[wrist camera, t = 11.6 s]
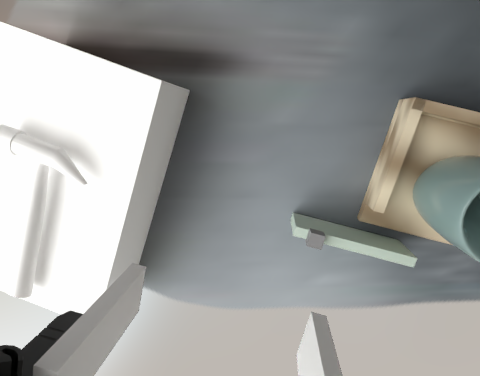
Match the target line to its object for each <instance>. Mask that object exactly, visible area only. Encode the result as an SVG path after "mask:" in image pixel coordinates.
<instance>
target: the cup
mask: <svg viewBox="0 0 480 376" xmlns="http://www.w3.org/2000/svg"><path fill="white" fill-rule="evenodd" d="M412 198H413V202H414V205H415V208H416V210H417V212H418V213H419V214H420V216H421V217H422V219H423V220H424V221H425V222H426V223H427V224H428V225H429V226H430V227H431V228H432V229H433V230H434V231H435V232H437V233H438V234H439V235H440V236H441V237H443V238H444V239H445V240H447V241H448V242H449V243H451V244H452V245H454V246H455V247H456V248H458V249H459V250H461V251H462V252H464V253H465V254H466V255H468V256H470V257H471V258H473V259H474V260H476V261H477V262H479V263H480V156H476V155H463V156H453V157H449V158H445V159H442V160H440V161H438V162H435V163H433V164H432V165H430V166H429V167H428V168H426V169H425V170H424V171H423V172H422V173H421V174H420V176H419V177H418V178H417V180H416V182H415V183H414V186H413V190H412Z"/></svg>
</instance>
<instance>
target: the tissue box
mask: <svg viewBox="0 0 480 376" xmlns="http://www.w3.org/2000/svg"><path fill="white" fill-rule="evenodd" d="M189 92H190V90H188V89H185V88H182V87H179V86H177V85H174V84H171V83H168V82H166V81H163V80H160V79H158V78H155V77H152V76H149V75H147V74H144V73H141V72H138V71H136V70H133V69H130V68H127V67H125V66H122V65H119V64H117V63H114V62H111V61H108V60H106V59H103V58H100V57H97V56H95V55H92V54H89V53H86V52H84V51H81V50H78V49H75V48H73V47H70V46H67V45H65V44H62V43H59V42H56V41H53V40H50V39H48V38H45V37H42V36H39V35H36V34H34V33H31V32H28V31H25V30H22V29H19V28H17V27H14V26H11V25H8V24H5V23H3V22H0V291H3V292H5V293H8V294H9V295H11V296H13V297H16V298H21V299H23V300H26V301H28V302H31V303H34V304H36V305H39V306H41V307H44V308H47V309H49V310H52V311H54V312H57V313H60V314H64V313H66V312H68V311H70V310H71V311H74V312H78V313H81V314H84V313H85V312H86V311H87V309H88V308H89V307H90V306H91V305H92V304H93V303H94V302H95V301H96V300H97V299H98V298H99V297H100V296H101V295H102V294H103V293H104V292H105V291H106V290H107V289H108V288H109V287H110V286H111V285H112V284H113V283H114V282H115V280H116V279H117V278H118V277H119V276H120V275H121V274H122V273H123V272H124V271H125V270H126V269H127V268H128V267H129V266H130V265H131V264H132V263H134V264H138V265H139V263H140V259H141V256H142V252H143V249H144V245H145V242H146V239H147V235H148V232H149V228H150V225H151V221H152V218H153V215H154V211H155V208H156V204H157V201H158V198H159V194H160V191H161V187H162V184H163V180H164V177H165V174H166V170H167V167H168V163H169V160H170V157H171V153H172V150H173V146H174V143H175V139H176V136H177V133H178V129H179V126H180V122H181V119H182V116H183V112H184V109H185V105H186V102H187V98H188V95H189Z"/></svg>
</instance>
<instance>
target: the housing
mask: <svg viewBox="0 0 480 376" xmlns="http://www.w3.org/2000/svg"><path fill="white" fill-rule="evenodd" d="M463 155H476V156H480V112H475V111H471V110H467V109H463V108H459V107H454V106H450V105H446V104H442V103H437V102H433V101H429V100H425V99H421V98H416V97H414V98H408V99H401V100H399V102H398V105H397V108H396V110H395V113H394V116H393V119H392V122H391V124H390V127H389V130H388V133H387V136H386V138H385V141H384V144H383V147H382V150H381V152H380V155H379V158H378V161H377V163H376V166H375V169H374V172H373V175H372V177H371V180H370V183H369V186H368V189H367V191H366V194H365V197H364V200H363V203H362V205H361V208H360V211H359V214H358V217H357V219H358V220H359V221H362V222H366V223H369V224H373V225H377V226H381V227H385V228H389V229H393V230H396V231H400V232H404V233H408V234H412V235H416V236H420V237H424V238H427V239H431V240H435V241H439V242H443V243H447V244H451V243H449V242H448V241H447V240H445V239H444V238H443V237H441V236H440V235H439V234H438V233H437V232H435V231H434V230H433V229H432V228H431V227H430V226H429V225H428V224H427V223H426V222H425V221H424V220H423V219H422V217H421V216H420V214H419V213H418V212H417V210H416V208H415V205H414V202H413V198H412V190H413V186H414V183H415V182H416V180H417V178H418V177H419V176H420V174H421V173H422V172H423V171H424V170H425V169H426V168H428V167H429V166H430V165H432V164H433V163H435V162H438V161H440V160H442V159H445V158H449V157H453V156H463ZM451 245H452V244H451Z"/></svg>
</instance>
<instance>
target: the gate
mask: <svg viewBox="0 0 480 376" xmlns="http://www.w3.org/2000/svg"><path fill="white" fill-rule="evenodd" d="M291 226H292V232H293V236H296V237H300V238H304V239H306V245H307V246H309V247H312V248H316V249H320V250H321V249H322V246H323V244H326V245H330V246H334V247H338V248H342V249H345V250H349V251H353V252H357V253H361V254H364V255H368V256H372V257H376V258H380V259H383V260H387V261H391V262H395V263H399V264H402V265H406V266H410V267H414V265H415V263H416V261H417V257H416V256H414V255H413V254H412V253H411V252H410V251H409V250H408V249H407V248H406V247H405V246H404V245H403V244H402V243H401V242H400V241H399V240H397V239H393V238H389V237H385V236H381V235H378V234H374V233H370V232H366V231H362V230H358V229H354V228H351V227H347V226H343V225H339V224H335V223H331V222H328V221H324V220H320V219H316V218H312V217H308V216H304V215H301V214H297V213H293V214H292V217H291Z"/></svg>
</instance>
